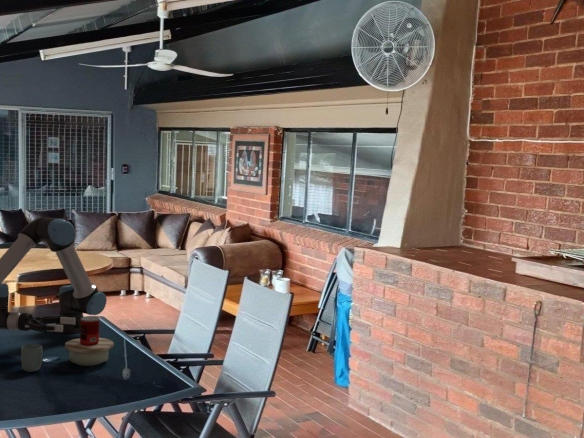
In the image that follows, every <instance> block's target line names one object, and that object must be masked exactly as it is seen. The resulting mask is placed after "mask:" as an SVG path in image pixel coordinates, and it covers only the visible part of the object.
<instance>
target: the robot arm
mask: <svg viewBox="0 0 584 438" xmlns="http://www.w3.org/2000/svg"><path fill="white" fill-rule="evenodd" d="M75 234H76V231H75V227H74V224H72V222H70V221H68V220H66V219H63V218H54V217H53V218H52V217H47V216H41V217H37V218H36V219H33V220H32V221H30V222H29V223H28V224H26V226H25V227H24V228H23V229H21V231H20V232H19V233H18V234H17V239H16V240H15V241H14V242H13V243H12V244H11V246H9V248H8V249H7V250H6V251H5V252H4V254H3V255H2V256H1V257H0V330H7V331H8V330H9V331H11V330H12V331H13V332H16V331H22V332H28V331H35V332H39V333H43V334H47V332H55V333H60V334H78V333H79V334H80V324H81V318H82V317H84V315H85V314H86V315H89V316H97V315H100V314H101V313H102V312H103V311H104V310H105V308H106V305H107V303H108V302H107V301H108V300H107V295H106V294H105V293H103V292H102V291H99V289H98V287H97V285H96V284H95V283H94V282H91V280H90V278H89V276H88V273H87V272H86V269H85V267H84V265H83V263H82V261H81V258H80V257H79V254H78V252H77V250H76V248H75V246H74V243H75ZM40 243H46V244H47V246H48V248H49V250H50V251H51V252H52V253H53V252H54V253H55V254H56V256H57V259H58V260H59V263H60V264H61V266H62V268H63V271H64V273H65V275H66V277H67V279H68V281H69V283H70V284H69V285H62V286H61V287H59V293H58V315H47V316H40V315H39V316H37V317H34V316H33V314H31V313H28V312H18V311H17V312H13V311H9V300H10V297H9V296H10V291H9V288H10V287H9V284H7V283H3V282H4V281H5V280H6V279H7V278H8V276H9V275H10V274H11V273H12V272H13V271H14V269H15V268H16V267H17V266H18V265H19V264H20V262H21V261H22V260H23V259H24V258H25V257H26V255H27V254H28V253H29V252H30V251H31V249H32V248H33V249H34V248H35V249H36V247H37V246H38V245H39V244H40Z"/></svg>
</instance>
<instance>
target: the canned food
mask: <svg viewBox="0 0 584 438" xmlns="http://www.w3.org/2000/svg"><path fill="white" fill-rule="evenodd" d="M79 338H80V344H81V345H85V346H92V345H96V344H98V342H99V338H100V317H98V316H96V315H89V316H83V317H82V318H81V324H80V332H79Z"/></svg>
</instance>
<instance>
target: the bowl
mask: <svg viewBox="0 0 584 438" xmlns="http://www.w3.org/2000/svg"><path fill="white" fill-rule="evenodd" d="M109 350H110V349H109ZM109 350H106V351H102V352H94V353H80V352H73V351H69V361H70V362H71V363H73V364H75V365H77V366H83V367H93V366H94V367H95V366H98V365H100V364H102V363H105V362H107V361H108V360H109Z"/></svg>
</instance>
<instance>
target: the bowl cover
mask: <svg viewBox="0 0 584 438" xmlns="http://www.w3.org/2000/svg"><path fill="white" fill-rule="evenodd" d="M64 348H65V350H67V351H69V352H70V351H73V352H80V353H94V352H102V351H106V350H111V349H112V348H114V341H113V340H111V339H109V338H104V337H99V342H98V344H96V345H92V346H85V345H81V344H80V337H79V338H73V339H70V340H68V341H66V342H65V343H64Z"/></svg>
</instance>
